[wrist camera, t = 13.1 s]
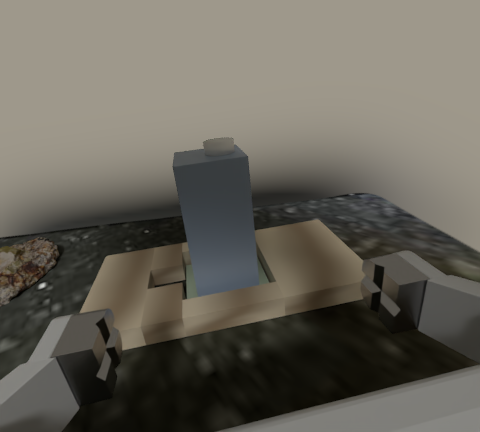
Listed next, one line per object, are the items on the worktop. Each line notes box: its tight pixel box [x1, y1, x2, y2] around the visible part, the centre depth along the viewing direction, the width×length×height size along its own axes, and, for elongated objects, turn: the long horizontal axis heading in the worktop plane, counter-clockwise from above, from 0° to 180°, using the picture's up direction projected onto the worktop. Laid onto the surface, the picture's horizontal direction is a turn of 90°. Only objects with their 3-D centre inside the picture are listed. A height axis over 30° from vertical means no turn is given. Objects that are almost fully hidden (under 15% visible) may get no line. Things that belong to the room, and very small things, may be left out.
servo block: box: [173, 138, 259, 297], centre depth 21 cm, size 4×4×11 cm
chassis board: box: [80, 220, 365, 350], centre depth 23 cm, size 20×10×2 cm, turn 100°
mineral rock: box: [0, 237, 59, 306], centre depth 26 cm, size 11×4×8 cm
